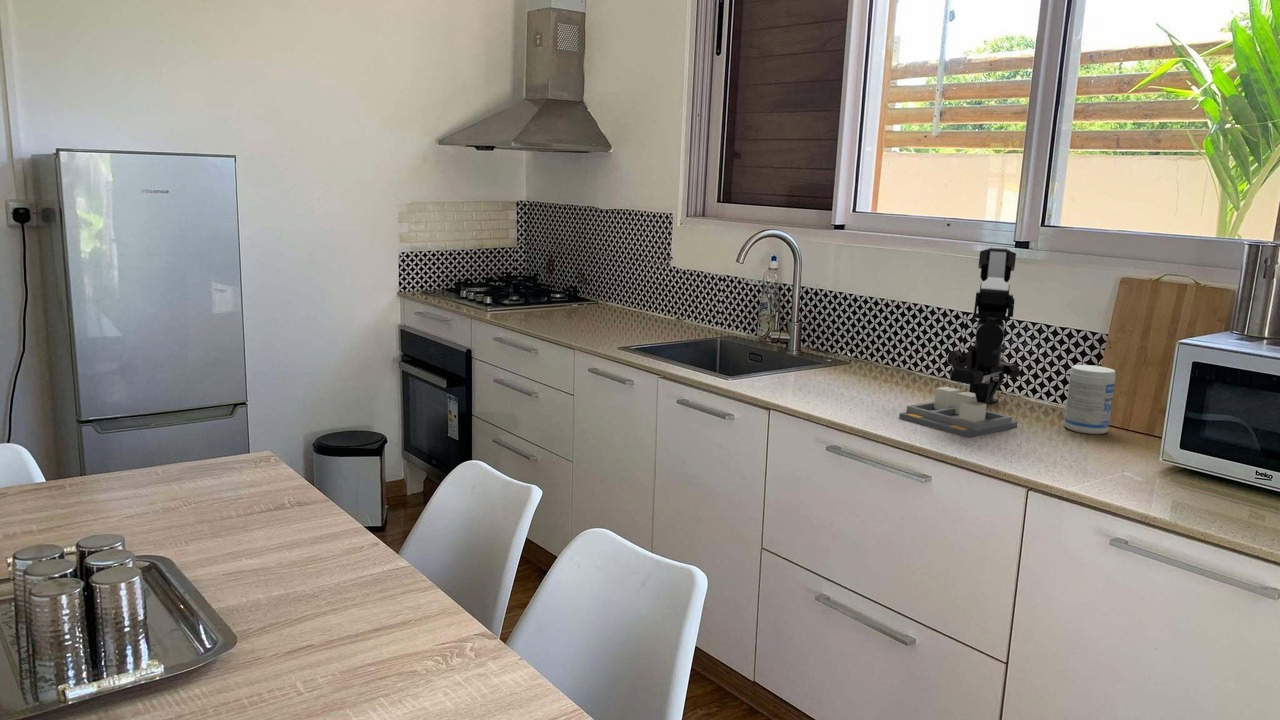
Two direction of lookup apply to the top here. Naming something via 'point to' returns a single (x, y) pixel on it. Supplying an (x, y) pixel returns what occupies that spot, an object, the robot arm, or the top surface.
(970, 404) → the light grey block
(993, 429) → the grey compartment tray
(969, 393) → the light grey block
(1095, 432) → the supplement tub
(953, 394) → the beige grey rectangular block
